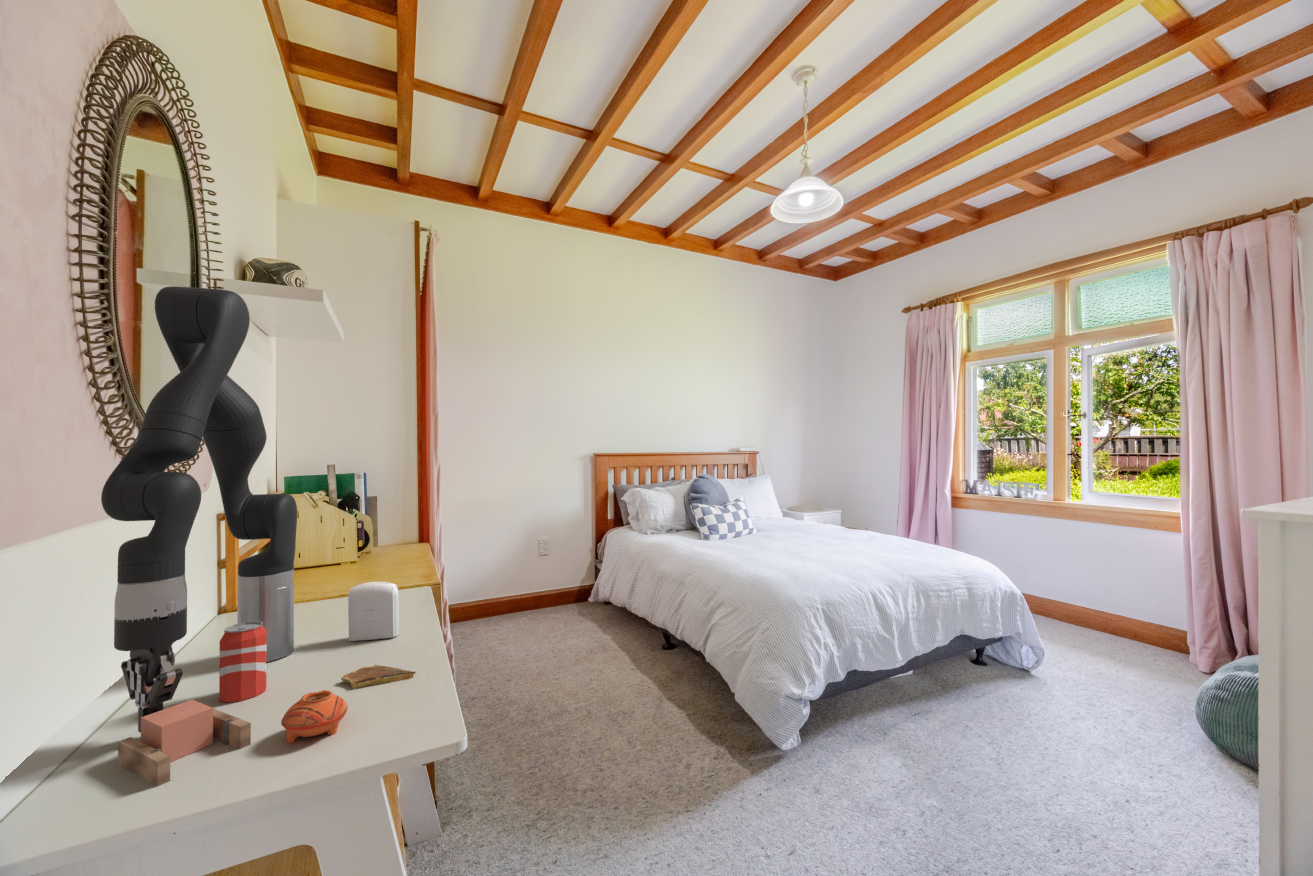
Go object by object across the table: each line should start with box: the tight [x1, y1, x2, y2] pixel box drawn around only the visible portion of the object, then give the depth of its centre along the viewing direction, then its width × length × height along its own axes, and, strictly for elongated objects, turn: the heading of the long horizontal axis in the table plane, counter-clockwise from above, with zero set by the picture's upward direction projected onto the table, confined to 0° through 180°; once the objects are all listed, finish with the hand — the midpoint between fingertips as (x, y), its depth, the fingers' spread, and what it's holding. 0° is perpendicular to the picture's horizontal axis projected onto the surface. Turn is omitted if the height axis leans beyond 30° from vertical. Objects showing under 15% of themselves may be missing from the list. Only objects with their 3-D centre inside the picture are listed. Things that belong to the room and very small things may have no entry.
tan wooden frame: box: [117, 708, 252, 788], centre depth 68 cm, size 15×10×4 cm, turn 64°
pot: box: [280, 689, 349, 744], centre depth 74 cm, size 8×8×7 cm
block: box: [140, 699, 214, 763], centre depth 70 cm, size 6×6×5 cm
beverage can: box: [218, 621, 268, 703], centre depth 87 cm, size 6×6×12 cm
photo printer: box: [347, 581, 400, 642], centre depth 115 cm, size 10×4×12 cm, turn 99°
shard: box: [340, 664, 417, 690], centre depth 92 cm, size 11×8×2 cm
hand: (150, 730), depth 74 cm, fingers closed
